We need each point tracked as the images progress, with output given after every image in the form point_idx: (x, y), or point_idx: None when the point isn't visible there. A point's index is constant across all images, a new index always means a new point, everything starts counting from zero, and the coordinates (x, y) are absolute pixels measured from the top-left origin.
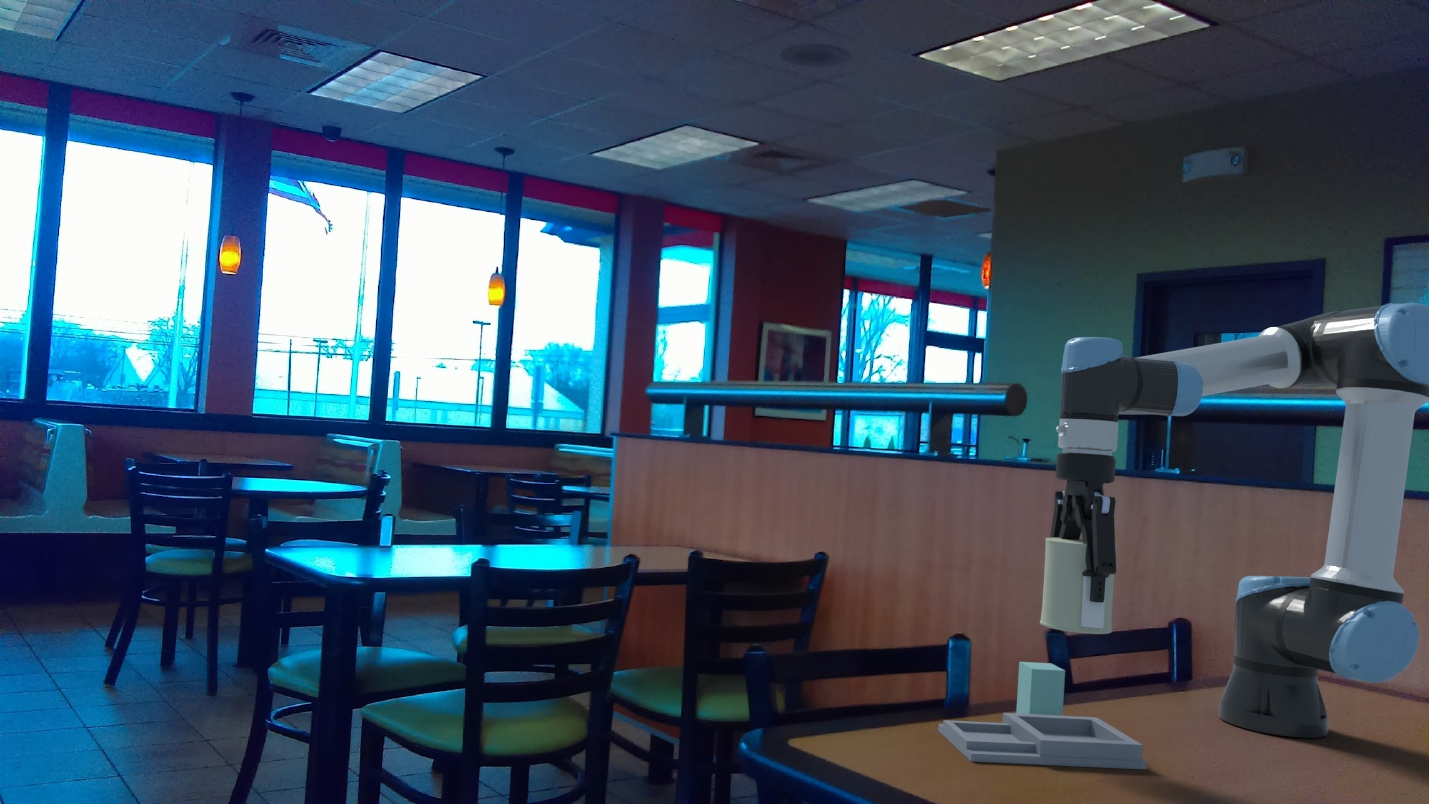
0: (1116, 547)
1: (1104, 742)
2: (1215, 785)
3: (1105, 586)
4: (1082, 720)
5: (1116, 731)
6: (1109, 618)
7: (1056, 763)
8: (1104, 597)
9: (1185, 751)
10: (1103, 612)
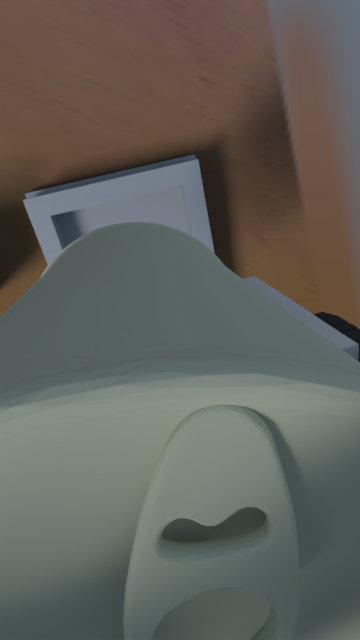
0: (334, 366)
1: (205, 225)
2: (243, 53)
3: (330, 326)
4: (56, 231)
5: (121, 185)
6: (206, 251)
7: None
8: (301, 309)
9: (31, 22)
10: (275, 291)
